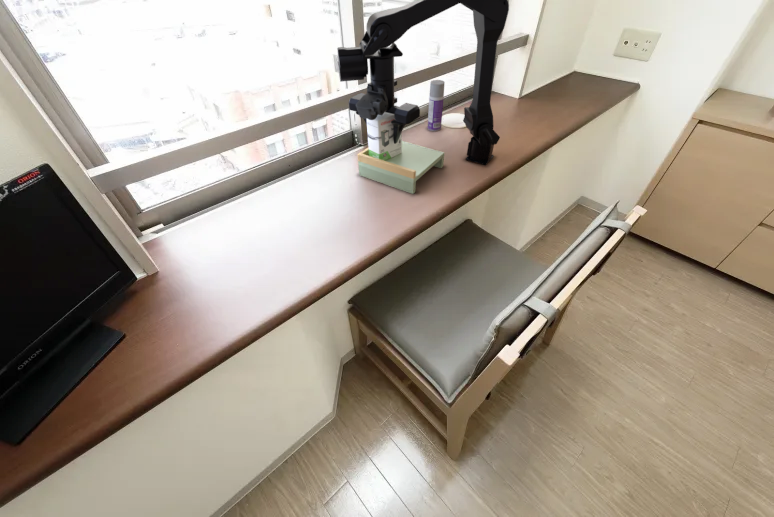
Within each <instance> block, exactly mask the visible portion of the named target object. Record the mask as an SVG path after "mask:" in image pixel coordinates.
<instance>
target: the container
mask: <svg viewBox="0 0 774 517" xmlns="http://www.w3.org/2000/svg"><path fill="white" fill-rule="evenodd" d="M444 96H445V81H444V80H441V79H434V80H431V81H430V85H429V96H428V111H427V112H428V114H427V130H428V131H430V132H439V131H441V129H442V121H443V110H444V99H445V97H444Z"/></svg>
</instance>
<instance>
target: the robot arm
mask: <svg viewBox="0 0 774 517" xmlns="http://www.w3.org/2000/svg"><path fill="white" fill-rule="evenodd" d="M458 4H461V5H462V6H464V7H465V8H467V9H469V10H471V11H472V18H473V27H474V31H475V35H476V43H477V44H476V51H475V52H476V55H475V66H474V79H473V88H472V89H473V90H472V101H471V103H470V105H469V107H468V106H465V107H464V108H463V112H464V116H463V119H462V121H463V123H464V125H465V127H466V129H467V131H469V133H470V135H472V136H471V137H470V141H469V142H468V143H467V150H466V157H465V161H468V162H472V163H475V164H479V165H481V166H482V165H483V166H487V165H488V163H489V162H490V161H491V160H492V159H493V158H494V154H493V153H494V148H495V145H497V144H498V142H499V140H500V138H501V137H500V135H498V133H497V132H496V131H495V130H494V114H493V110H492V104H491V99H492V92H493V91H492V90H493V82H494V74H495V63H496V57H497V48H498V42H499V39H500V36H501V35H502V33H503V31H504V29H505V27H506V22H507V19H508V15H509V11H510V3H509V1H508V0H413V1H411V2H409V3H407V4H405V5H402V6H398V7H393V8H392V7H391V8H388V9H387V8H386V9H383V10H379V11H376V12H373V13H372V14H370V16H369V17H368V18H367V22H366V28H365V29H366V31H365V33H364V35H363V36H362V38H361V39H360V42H359V44H358V46H351V47H345V46H340V47H338V46H337V48H336V49H337V71H338V78H339V82H351V81H365V78H367V75H370V76H369V77H370V82H368V83H367V86H366V93H363V92H360V93H358V94H355V95H354V96H352V97H349V100H348V109H349V110H348V111H352V112H355V114H356V115H358V117H359V118H361V119H363V121H364V123H365V125H366V126H367V119H369V120H374V119H376V117H377V115H383V113H384V112H387V113H391V114H394V118H395V119H394V120H393V121H391V123H392V124H393V139H394V144H396V143H397V142H398V140H399V137H400V135H401V133H402V134H403V131H404V128H405V127H406V125H409V124H411V123H413V122H414V121H415V120H417V119H418V118H420V117H421V109H420V107H419V105H417V104H414V103H410V102H409V103H408V102H404V103H402V105H400V106H398V105H395V104H397V103H398V97H395V87H396V86H398V80H396V79H395V58H397V57H399V58H400V57H403V55H404V53H403V52H402V50H400V49H399V48H398V46H397V44H396V43H395V42H397V41H398V40H399V39H401V38H402V37H403V36H404V35H405V33H407V32H408V31H409V30H410V29H411V28H413V27H415V26H417V25H419V24H421V23H423V22H425V21H427V20H429V19H430V18H433V17H435V16H436V15H439V14H441V13H443V12H445V11H447V10H448V9H451V8H453V7H455V6H456V5H458ZM368 62H369V63H368ZM366 118H367V119H366Z"/></svg>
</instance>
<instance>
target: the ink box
mask: <svg viewBox="0 0 774 517" xmlns="http://www.w3.org/2000/svg"><path fill="white" fill-rule="evenodd" d="M366 119H367V118H366ZM394 119H395V118H394V114H391V113H387V112H384V113H383V115H377V117H376V119H374V120H369V119H367V125H366V131H367V133H366V134H367V148H369V156H371V157H374V158H377V159H381V160H384V161H385V160H388V159H390V158H392V157H394V156H396V155H398V154H401V153H402V141H403V132H402V133H401V135H400V137H399V140H398V142H397V143H396V144H394V139H393V124H392V123H391V121H393V120H394Z"/></svg>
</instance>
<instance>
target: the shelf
mask: <svg viewBox="0 0 774 517" xmlns="http://www.w3.org/2000/svg"><path fill="white" fill-rule="evenodd" d="M445 154H446V153H445V152H444V151H440V150H437V149H434V148H430V147H427V146H423V145H419V144H416V143H411V142H409V141H406V140H405V141H404V140H402V153H401V154H398V155H396V156H394V157H392V158H390V159H388V160H385V161H384V160H381V159H377V158H374V157H371V156H369V148H368V147H366V148H365V149H363V150H361V151H360V152H359V153H357V165H358V175H359V177H363V178H366V179H369V180H372V181H374V182H378V183H381V184H383V185H386V186H389V187H390V188H391V187H392V188H395V189H397V190H400V191H402V192H406V193H409V194H412V195H413V194H415V193H416V188H417V186H416V184H417V181H418V180H420V178H421V177H423V175H425V174H426V173H427V172H429V170H430V169H431V168H433V167H436V168H439V169H442V168H443V167H444V163H445Z"/></svg>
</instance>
